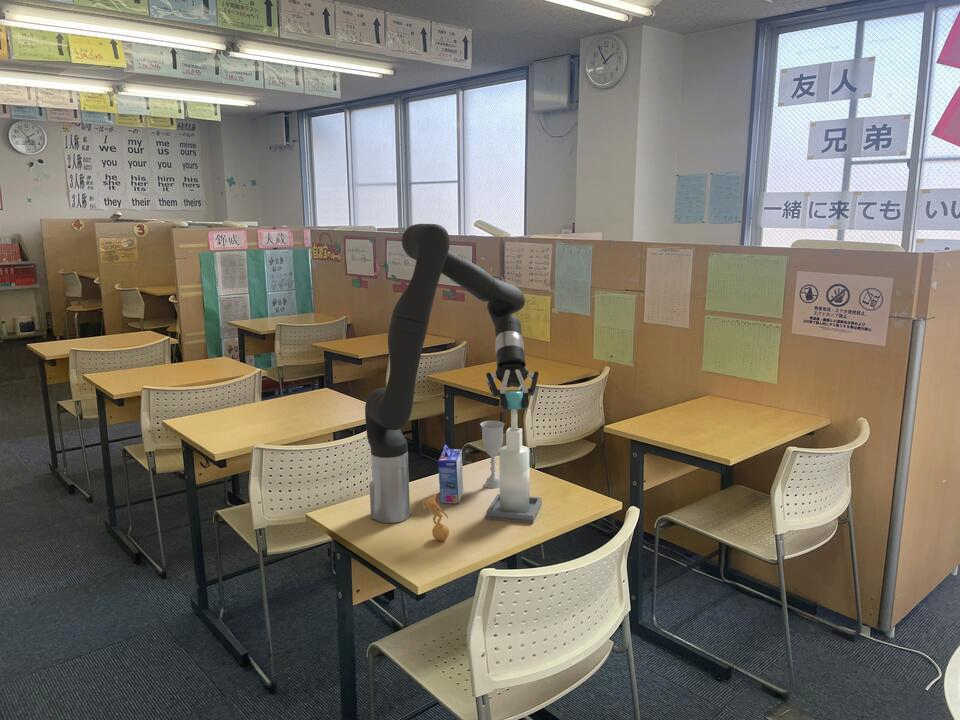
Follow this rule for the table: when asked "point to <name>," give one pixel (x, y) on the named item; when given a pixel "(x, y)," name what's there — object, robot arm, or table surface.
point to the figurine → (439, 530)
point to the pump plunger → (514, 405)
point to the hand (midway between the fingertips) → (515, 408)
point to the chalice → (492, 447)
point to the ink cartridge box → (450, 475)
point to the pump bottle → (514, 483)
